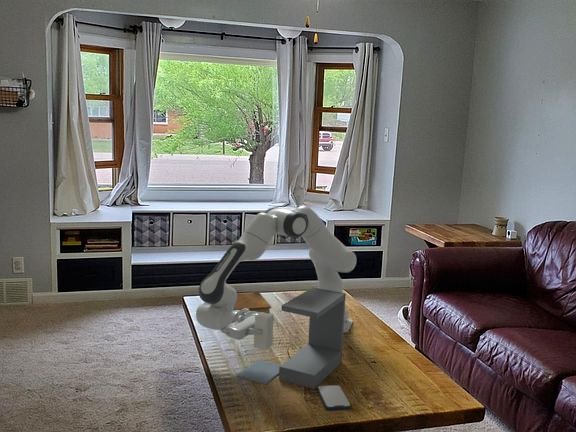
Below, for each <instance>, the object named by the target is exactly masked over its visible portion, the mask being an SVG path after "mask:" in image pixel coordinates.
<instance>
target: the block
mask: <svg viewBox="0 0 576 432" xmlns="http://www.w3.org/2000/svg"><path fill="white" fill-rule="evenodd" d="M254 329H262V334H261V335H253V336H254V337H253V348H255V349H256V348H257V349H259V350H264V351H266V350H268V349H270V348H271V347H273V341H274V340H273V339H274V335H273V334H274V314H273V313H269V314H268V313H264V312H261V313H259V314H257V315H256V316H255V328H254Z"/></svg>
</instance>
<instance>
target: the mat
mask: <svg viewBox="0 0 576 432" xmlns="http://www.w3.org/2000/svg"><path fill="white" fill-rule="evenodd" d="M280 365H281V364H279V363H275V362H271V361H269V360H268V361H267V360H263V359H260V358H259V359H258V360H257V361H255V362H254V363H251V365H249V366H248V367H246V368H245V369H244V370H242V371H240V372H239V373H238V374H237V375H236V377H238V378H241V379H244V380H245V379H246V380H248V381H252V382H255V383H259V384H263V385H267V384H268V383H270V382H271V381H272V380H273V379H275V378H276V377H277V376H279V366H280Z"/></svg>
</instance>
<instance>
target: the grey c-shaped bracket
mask: <svg viewBox="0 0 576 432" xmlns="http://www.w3.org/2000/svg"><path fill="white" fill-rule="evenodd" d="M345 308H346V293H345V292H343V293H340V292H335V291H329V290H324V289H318V287H311V288H309V289H308V290H305V291H304V292H302V293H300V294H299V295H297V296H295V297H293V298H292V299H290V300H289V301H287V302H284V303H283V304H281V310H280V311H282V312H284V313H285V312H286V313H290V314H295V315H300V316H303V317H304V316H305V317H309V322H308V325H309V326H308V344H306V345H305V346H304V347H302V348H301V349H300V350H299V351H297V352H296V353H295V354H293V355H292V356H291V357H290V358H289V359H287V360H286V361H284V362H283V363H281V364H280V366H279V374H278V380H280V381H283V382H286V383H287V382H288V383H291V384H295V385H299V386H302V387H306V388H309V389H313V390H315V389H316V388H317V387H318V386H320V384H321V383H322V382H323V381H324V380H325V379H326V378H327V377H328V376H329V375H331V373H333V371H334V370H336V369H337V368H338V367H339V366H340V365H341V364H342V362H343V361H342V360H343V348H344V346H343V345H344V333H343V331H344V314H345Z"/></svg>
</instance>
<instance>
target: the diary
mask: <svg viewBox="0 0 576 432" xmlns="http://www.w3.org/2000/svg"><path fill="white" fill-rule="evenodd" d="M237 294H238V299H237V302H236V305H235V307H234V309H233V310H240V309H245V308H246V309H249V311H256V312H260V313H261V312H264V313H268V314H270V310H271V309H272V306H271V304H270V303H269V302H268V301H267V300H266V298H265V297H264V296H263V294H261V292H259V291H258V292H257V291H256V292H241V293H240V292H239V293H238V292H237Z"/></svg>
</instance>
